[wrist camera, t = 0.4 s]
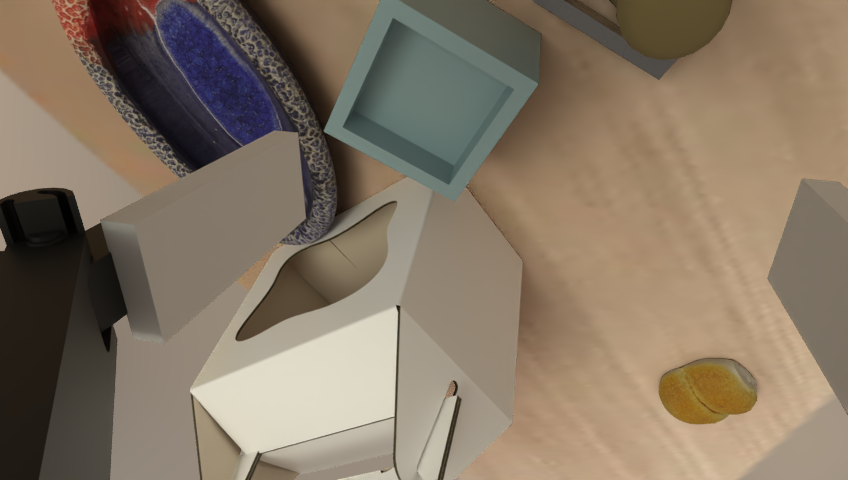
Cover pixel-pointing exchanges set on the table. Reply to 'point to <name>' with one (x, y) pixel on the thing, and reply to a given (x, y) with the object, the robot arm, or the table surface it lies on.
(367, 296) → the gable box
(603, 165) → the table surface
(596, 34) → the socket collar
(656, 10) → the olive brown hourglass shape
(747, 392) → the bread roll
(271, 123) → the dish
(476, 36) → the open box
